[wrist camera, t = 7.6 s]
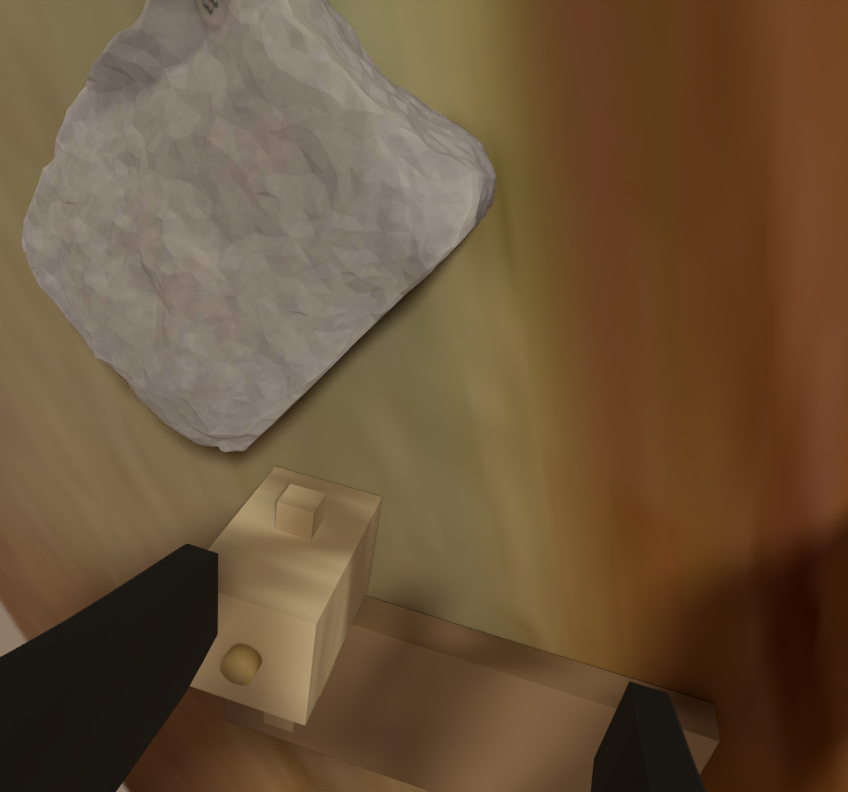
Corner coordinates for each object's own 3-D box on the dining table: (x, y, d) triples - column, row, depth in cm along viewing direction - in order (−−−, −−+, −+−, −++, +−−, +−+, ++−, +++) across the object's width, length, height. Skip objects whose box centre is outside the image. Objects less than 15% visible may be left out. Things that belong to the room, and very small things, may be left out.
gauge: (386, 471, 23) (310, 611, 17) (353, 680, 28) (287, 840, 22) (276, 440, 23) (168, 566, 18) (264, 651, 29) (178, 800, 23)
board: (713, 704, 24) (719, 741, 23) (643, 828, 28) (645, 865, 27) (246, 558, 26) (227, 585, 25) (241, 691, 30) (225, 719, 29)
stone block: (97, 227, 24) (282, 443, 23) (-34, 236, 19) (191, 501, 19) (296, -81, 18) (537, 195, 18) (175, -162, 14) (490, 198, 14)
